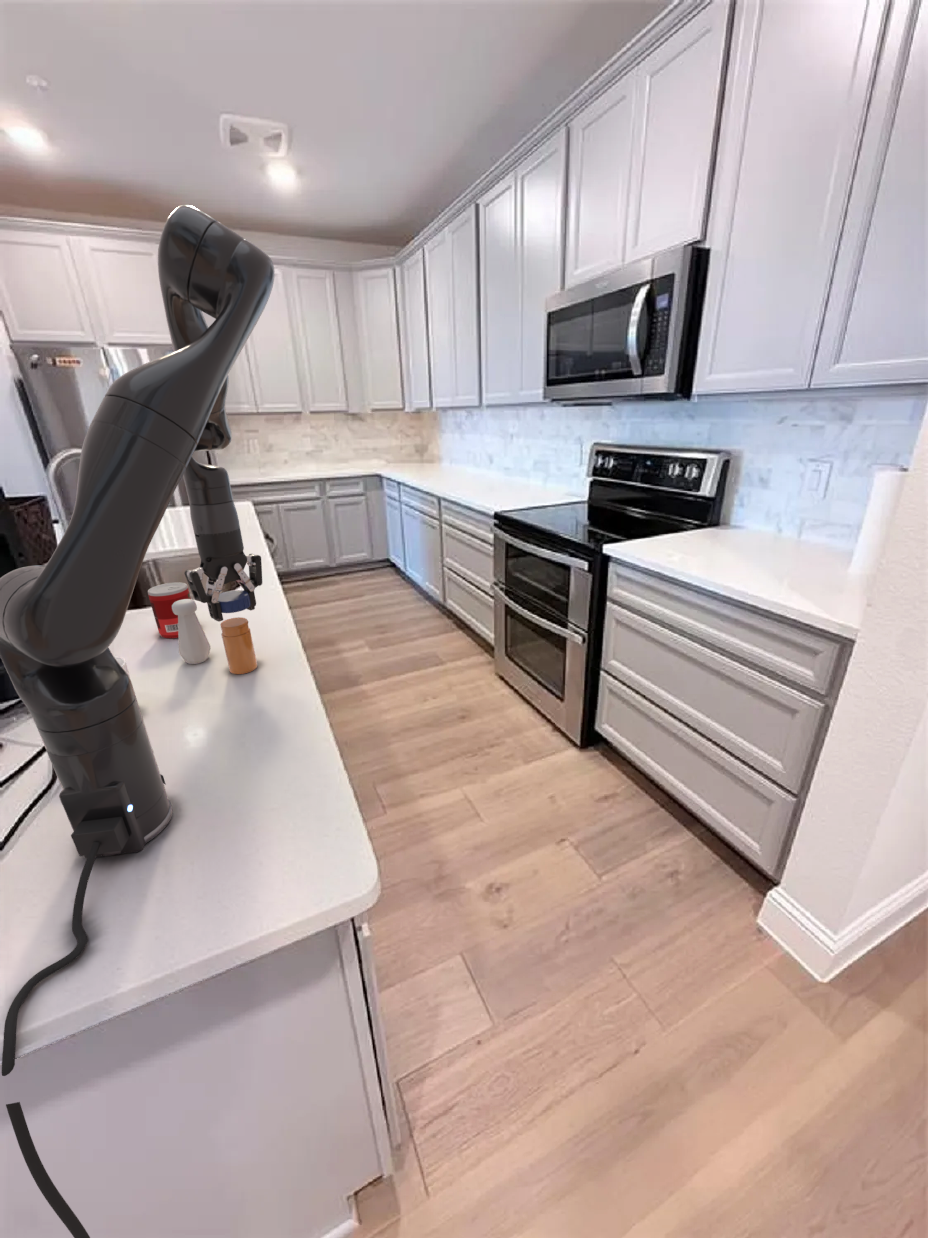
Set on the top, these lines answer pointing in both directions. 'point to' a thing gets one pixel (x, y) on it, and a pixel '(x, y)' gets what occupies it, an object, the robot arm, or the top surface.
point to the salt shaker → (190, 633)
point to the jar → (238, 645)
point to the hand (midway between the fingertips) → (234, 614)
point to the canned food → (167, 606)
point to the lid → (234, 601)
